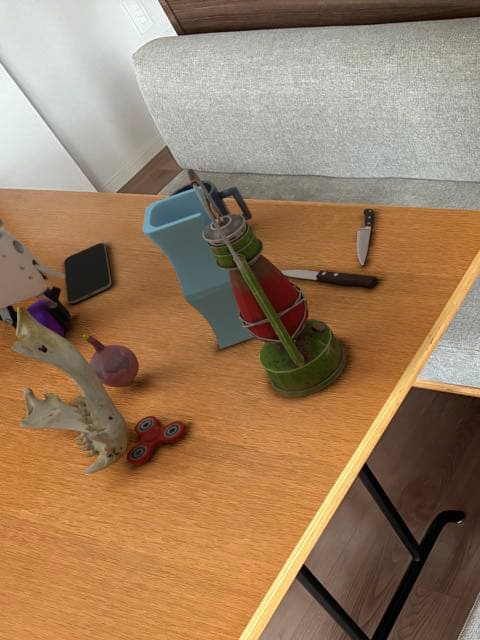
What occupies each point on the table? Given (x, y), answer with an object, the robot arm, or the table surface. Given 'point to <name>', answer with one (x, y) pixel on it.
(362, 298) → the table surface
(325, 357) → the lantern
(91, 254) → the smartphone
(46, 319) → the purple eggplant
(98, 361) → the vegetable
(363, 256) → the knife
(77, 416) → the jawbone
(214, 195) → the mug
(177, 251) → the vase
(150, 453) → the fidget spinner
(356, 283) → the kitchen knife
